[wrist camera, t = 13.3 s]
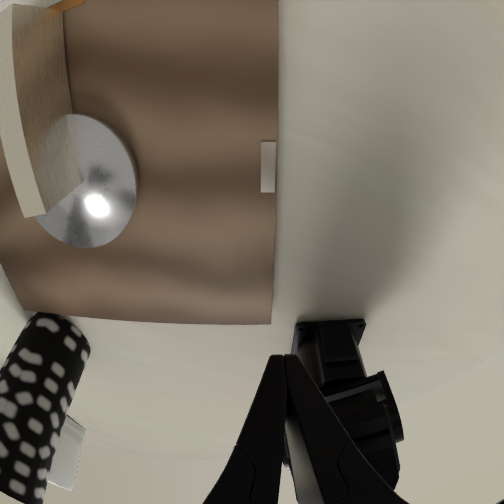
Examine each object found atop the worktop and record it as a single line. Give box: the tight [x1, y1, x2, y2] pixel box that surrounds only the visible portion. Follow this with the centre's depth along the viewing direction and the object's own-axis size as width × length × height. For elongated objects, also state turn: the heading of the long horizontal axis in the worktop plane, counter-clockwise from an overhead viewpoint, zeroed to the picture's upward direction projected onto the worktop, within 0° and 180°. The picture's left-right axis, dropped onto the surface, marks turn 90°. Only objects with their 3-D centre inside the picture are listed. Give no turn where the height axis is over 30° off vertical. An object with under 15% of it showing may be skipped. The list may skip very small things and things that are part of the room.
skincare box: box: [47, 416, 86, 491], centre depth 37 cm, size 8×7×16 cm
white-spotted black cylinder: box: [0, 311, 90, 504], centre depth 19 cm, size 8×8×20 cm
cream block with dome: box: [0, 4, 139, 248], centre depth 12 cm, size 16×9×5 cm, turn 5°
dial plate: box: [0, 0, 278, 325], centre depth 17 cm, size 25×25×2 cm
